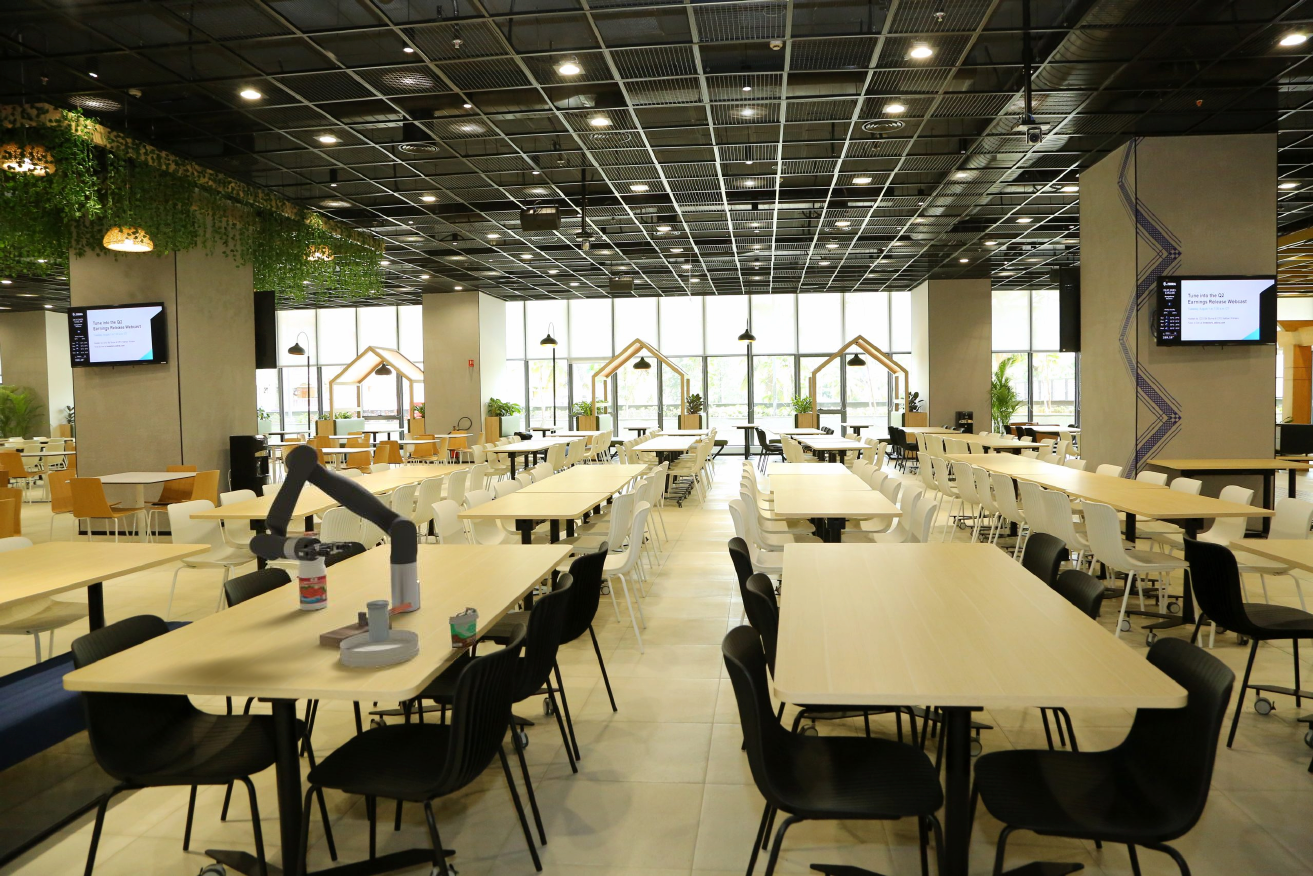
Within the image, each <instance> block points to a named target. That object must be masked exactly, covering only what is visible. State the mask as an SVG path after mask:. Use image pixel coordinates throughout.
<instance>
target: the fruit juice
mask: <svg viewBox="0 0 1313 876" xmlns="http://www.w3.org/2000/svg"><path fill="white" fill-rule="evenodd" d="M318 536H319V532H318V531H306V532H303V536H302V537H316V538H318ZM325 558H326V557H319V558H318V559H317V560H315V561H298V563H299V568H298V592H299V594H298V595H299V607H300V610H301V609H302V611H316V609H318V610H321V608H322V609H325V608H327V606H328V584H327V581H328V580H327V568H326V565H325Z"/></svg>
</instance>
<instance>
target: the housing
mask: <svg viewBox="0 0 1313 876" xmlns="http://www.w3.org/2000/svg"><path fill="white" fill-rule="evenodd" d="M367 617H368V615H367V611H359V612H357V622H355V623H352V624H348V625H345V626H343V627H339V628H337V629H333V630H330V631H328V632H325V633H321V634H319V645H320V644H321V645H322V646H326V645H329V646H328V647H333V646H335V648H340V643H341V642H342V641H343V640H345V639H347V638H349V637H352V636H354V635H358V634H362V633H366V632H369V624H367ZM392 628H393V627H392V621H389V630H393V629H392Z"/></svg>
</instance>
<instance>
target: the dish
mask: <svg viewBox="0 0 1313 876" xmlns="http://www.w3.org/2000/svg"><path fill="white" fill-rule="evenodd" d="M389 638H390V639H389V640H387V641H384V642H377V643H373V642H370V641H369V632H366V633H362V634H358V635H354V636H352V637H349V638H347V639H345V640H343V641H342V642H341V643H340V647H339V648H340V652H339V662H340V663H341V664H342V665H344V666H346V665H347V667H351V666H353V667H352V668H365V667H366V668H377V667H376V666H379V667H386V666H385V665H387V666H391V665H390V664H392V665H395V664H394V663H396V664H400V663H402V662H406V661H408V660H411V659H413V658H414V656H415V655H416V656H417V655H418V654H419V653H418V652H420V645H419V635H418V633H416V632H415V631H413V630H412V631H411V630H408V629H392V630H389ZM416 656H415V657H416ZM399 662H400V663H399Z"/></svg>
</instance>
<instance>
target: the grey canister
mask: <svg viewBox="0 0 1313 876" xmlns="http://www.w3.org/2000/svg"><path fill="white" fill-rule="evenodd" d="M389 605H390V601H389V600H387V599H377V600H376V599H375V600H371V601H368V602H366V606H365V607H366V609H367V617H368V623H369V641H370V642H373V643H377V642H384V641H387V640H389V639H390V638H389V616H388V610H389Z"/></svg>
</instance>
